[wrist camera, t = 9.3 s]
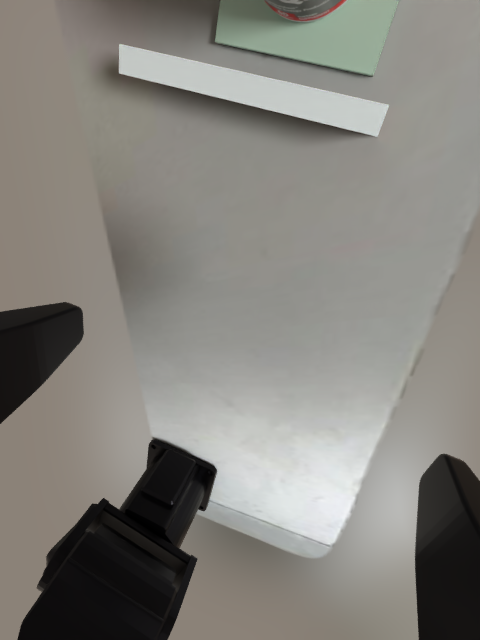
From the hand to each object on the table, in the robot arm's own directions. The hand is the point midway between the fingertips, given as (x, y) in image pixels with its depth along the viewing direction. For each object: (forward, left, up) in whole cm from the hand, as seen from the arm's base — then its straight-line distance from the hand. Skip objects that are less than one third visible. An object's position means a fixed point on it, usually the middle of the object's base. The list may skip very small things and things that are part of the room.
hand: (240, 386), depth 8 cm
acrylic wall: (+6, +4, -12) cm, 14 cm away
